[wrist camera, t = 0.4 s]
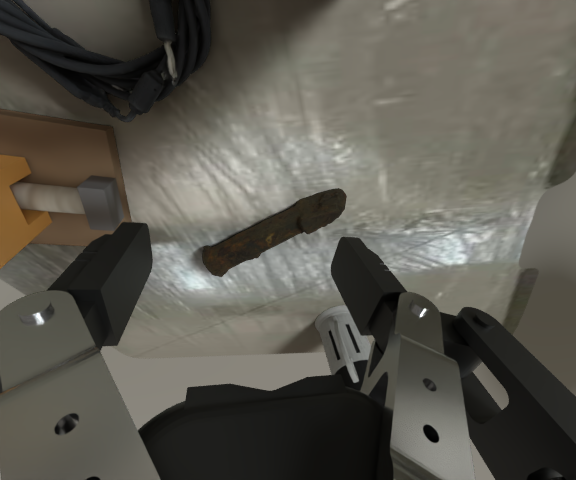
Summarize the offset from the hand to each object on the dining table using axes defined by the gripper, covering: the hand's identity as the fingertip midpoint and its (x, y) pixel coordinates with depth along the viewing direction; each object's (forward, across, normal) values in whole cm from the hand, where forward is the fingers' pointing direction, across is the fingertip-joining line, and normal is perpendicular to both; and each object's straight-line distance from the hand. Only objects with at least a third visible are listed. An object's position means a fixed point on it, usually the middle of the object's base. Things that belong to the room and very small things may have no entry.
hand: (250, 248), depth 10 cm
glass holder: (+20, -19, +27) cm, 39 cm away
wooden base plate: (+18, +21, +6) cm, 28 cm away
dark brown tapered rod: (+19, -4, +8) cm, 21 cm away
